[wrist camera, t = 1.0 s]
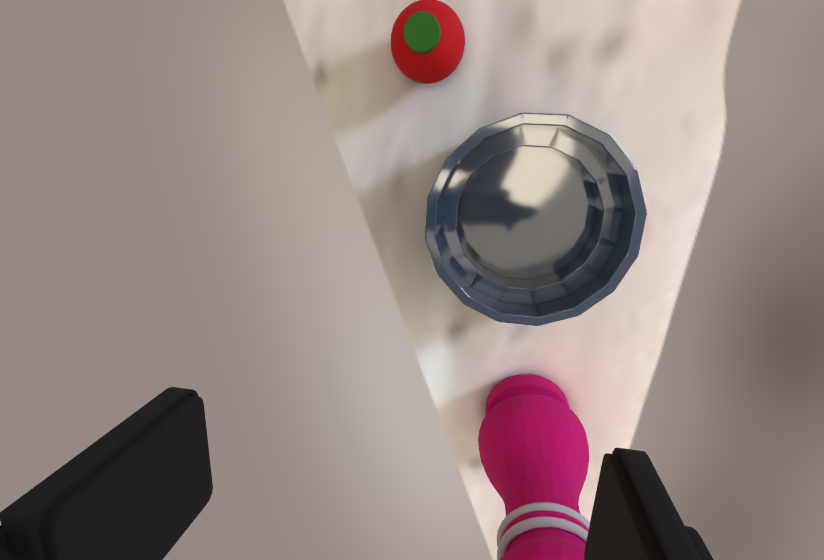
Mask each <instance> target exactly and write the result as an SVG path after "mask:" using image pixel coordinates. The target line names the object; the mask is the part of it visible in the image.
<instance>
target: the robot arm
mask: <svg viewBox="0 0 824 560" xmlns="http://www.w3.org/2000/svg"><path fill="white" fill-rule="evenodd" d="M212 489H213V485H212V476H211V468H210V458H209V448H208V440H207V430H206V421H205V413H204V403H203V400H202V398H201V397H198V394H197V392H196V391H194V390H191V389H184V388H176V387H170V388H168V389H166V390H165V391H163V392H162V393H161V394H159V395H158V396H157V397H155V398H154V399H153V400H151V401H150V402H148V403H147V404H146V405H145V406H143V407H142V408H140V409H139V410H138V411H136V412H135V413H134V414H132V415H131V416H130V417H128V418H127V419H126V420H124V421H123V422H122V423H120V424H119V425H118V426H116V427H115V428H114V429H112V430H111V431H109V432H108V433H107V434H105V435H104V436H103V437H101V438H100V439H99V440H97V441H96V442H95V443H93V444H92V445H91V446H89V447H88V448H87V449H85V450H84V451H82V452H81V453H80V454H78V455H77V456H76V457H74V458H73V459H72V460H70V461H69V462H68V463H66V464H65V465H64V466H62V467H61V468H60V469H58V470H57V471H55V472H54V473H53V474H51V475H50V476H49V477H47V478H46V479H45V480H43V481H42V482H41V483H40V484H38V485H37V486H35V487H34V488H33V489H31V490H30V491H29V492H28V493H26V494H25V495H23V496H22V497H21V498H19V499H18V500H17V501H15V502H14V503H12V504H11V505H10V506H8V507H7V508H6V509H4V510H3V511H2V512H0V521H1V524H2V525H1V526H0V560H163V558H164V557H165V556H166V554H167V553H168V552H169V551H170V550H171V548H172V547H173V546H174V544H175V543H176V542H177V541H178V540H179V538H180V537H181V536H182V534H183V533H184V532H185V530H186V529H187V528H188V527H189V526H190V524H191V523H192V522H193V521H194V519H195V518H196V517H197V516H198V514H199V513H200V512H201V511H202V509H203V508H204V507H205V506H206V504H207V503H208V501H209V499H210V497H211V494H212ZM584 560H713V558H712V556H711V555H710V553H709V551H708V549H707V547H706V545H705V544H704V542H703V540H702V538H701V537H700V535H699V534H698V532H697V531H696V530H694V529H693V528H692V527H687V526H684V524H683V522H682V520H681V518H680V516H679V514H678V512H677V511H676V509H675V507H674V505H673V503H672V501H671V499H670V497H669V495H668V493H667V491H666V489H665V487H664V485H663V484H662V482H661V480H660V478H659V476H658V474H657V472H656V470H655V468H654V466H653V464H652V462H651V461H650V459H649V457H648V455H647V454H646V452H644V451H637V450H630V449H623V448H615V449H614V451H613V453H612V454H607V453H606V454H605V455H604V457H603V461H602V466H601V471H600V476H599V481H598V486H597V491H596V496H595V501H594V506H593V511H592V516H591V521H590V526H589V531H588V536H587V541H586V546H585V551H584Z"/></svg>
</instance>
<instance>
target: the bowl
mask: <svg viewBox="0 0 824 560" xmlns="http://www.w3.org/2000/svg"><path fill="white" fill-rule="evenodd" d="M646 212H647V211H646V206H645V202H644V198H643V193H642V189H641V185H640V180H639V176H638V172H637V170H636V168H635V166H634V165H633V164H632V163H631V161H630V160H629V159H628V158H627V156H626V155H625V154H624V153H623V151H622V150H621V149H620V147H619V146H618V145H617V144H616V142H615V141H614V140H613V139H612V137H611V136H610V135H608V134H607V133H605V132H603V131H601V130H599V129H597V128H595V127H593V126H591V125H589V124H587V123H585V122H583V121H581V120H579V119H577V118H575V117H573V116H571V115H567V114H545V113H520V114H517V115H514V116H512V117H509V118H506V119H504V120H501V121H498V122H496V123H493V124H490V125H488V126H485V127H482V128H480V129H478V130H477V131H476V132H475V133H474V134H473V135H472V136H471V137H469V138H468V139H467V140H466V141H465V142H464V143H463V144H462V145H461V146H460V147H459V148H458V149H456V150H455V151H454V152H453V153H452V154H451V155H450V156H449V157H448V158H447V159H446V160H445V162H444V164H443V166H442V168H441V171H440V173H439V175H438V177H437V179H436V181H435V183H434V185H433V187H432V189H431V191H430V193H429V196H428V199H427V215H426V232H425V239H426V242H427V245H428V248H429V251H430V254H431V256H432V259H433V262H434V265H435V268H436V271H437V274H438V275H439V277H440V278H441V279H442V280H443V281H444V282H445V283H446V285H447V286H448V287H449V288H450V289H451V290H452V291H453V293H454V294H455V295H456V296H457V297H458V298H459V299H460V301H461V302H462V303H464V304H465V305H467V306H469V307H471V308H473V309H474V310H476V311H478V312H480V313H482V314H484V315H486V316H488V317H490V318H492V319H494V320H496V321H499V322H506V323H516V324H525V325H534V326H538V325H539V326H540V325H543V324H547V323H551V322H555V321H559V320H563V319H567V318H571V317H575V316H578V315H580V314H582V313H583V312H585V311H586V310H588V309H589V308H591V307H592V306H593V305H595V304H596V303H598V302H599V301H601V300H602V299H604V298H605V297H606V296H608V295H609V294H611V293H612V292H613V291H614V290H615V289H616V287H617V286H618V284H619V283H620V282H621V280H622V279H623V277H624V276H625V274H626V273H627V271H628V270H629V268H630V267H631V265H632V264H633V262H634V261H635V259H636V258H637V257H638V254H639V249H640V244H641V239H642V234H643V229H644V224H645V220H646V215H647V213H646Z"/></svg>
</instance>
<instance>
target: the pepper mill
mask: <svg viewBox="0 0 824 560" xmlns="http://www.w3.org/2000/svg"><path fill="white" fill-rule="evenodd" d="M478 440H479V451H480V458H481V462H482V464H483V467H484V469H485V472H486V474H487V476H488V478H489V480H490V482H491V483H492V485H493V486H494V488H495V489H496V490H497V492H498V493H499V495H500V496H501V498H502V499H503V501H504V504H505V510H506V517H505V519H504V520H503V521H502V523H501V525H500V527H499V530H498V533H497V546H498V551H497V559H498V560H584V551H585V546H586V541H587V536H588V531H589V526H590V523H589V521H588V520H587V519H586V518H585V517H583V516H582V515H581V514H580V511H579V506H578V501H579V495H580V492H581V490H582V487H583V484H584V481H585V479H586V475H587V471H588V463H589V447H588V441H587V437H586V433H585V430H584V427H583V425H582V424H581V422H580V420H579V419H578V417H577V416H576V415H575V414H574V412H573V411H572V410H570V407H569V404H568V402H567V399H566V397H565V395H564V394H563V392H562V391H561V390H560V388H559V387H558V386H557V385H555V384H554V383H553V382H551V381H550V380H547V379H545V378H543V377H540V376H536V375H529V374H526V375H517V376H513V377H509V378H507V379H505V380H503V381H502V382H500V383H499V384H498V385H496V386H495V387H494V389H493V390H492V391H491V393H490V395H489V397H488V399H487V403H486V416H485V418H484V420H483V422H482V424H481V427H480V431H479V437H478Z"/></svg>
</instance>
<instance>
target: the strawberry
mask: <svg viewBox="0 0 824 560" xmlns="http://www.w3.org/2000/svg"><path fill="white" fill-rule="evenodd" d="M464 45H465V36H464V30H463V26H462V23H461V21H460V19H459V17H458V16H457V14H456V13H455V12H454V11H453V10H452V9H451V8H450V7H449V6H448V5H446V4H444V3H443V2H440V1H438V0H419V1H417V2H414V3H412V4H410V5H409V6H408V7H406V8H405V9H404V10H403V11H402V12H401V13H400V15H399V16H398V18H397V19H396V21H395V23H394V26H393V29H392V33H391V50H392V55H393V58H394V60H395V63H396V64H397V66H398V68H399V69H400V70H401V71H402V73H403V74H404V75H406V76H407V77H408V78H410V79H412V80H414V81H416V82H420V83H435V82H438V81H441V80H443V79H444V78H446V77H447V76H449V75H450V74H451V73H452V72H453V71H454V70H455V69H456V67H457V66H458V64H459V62H460V60H461V58H462V55H463V51H464Z"/></svg>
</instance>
